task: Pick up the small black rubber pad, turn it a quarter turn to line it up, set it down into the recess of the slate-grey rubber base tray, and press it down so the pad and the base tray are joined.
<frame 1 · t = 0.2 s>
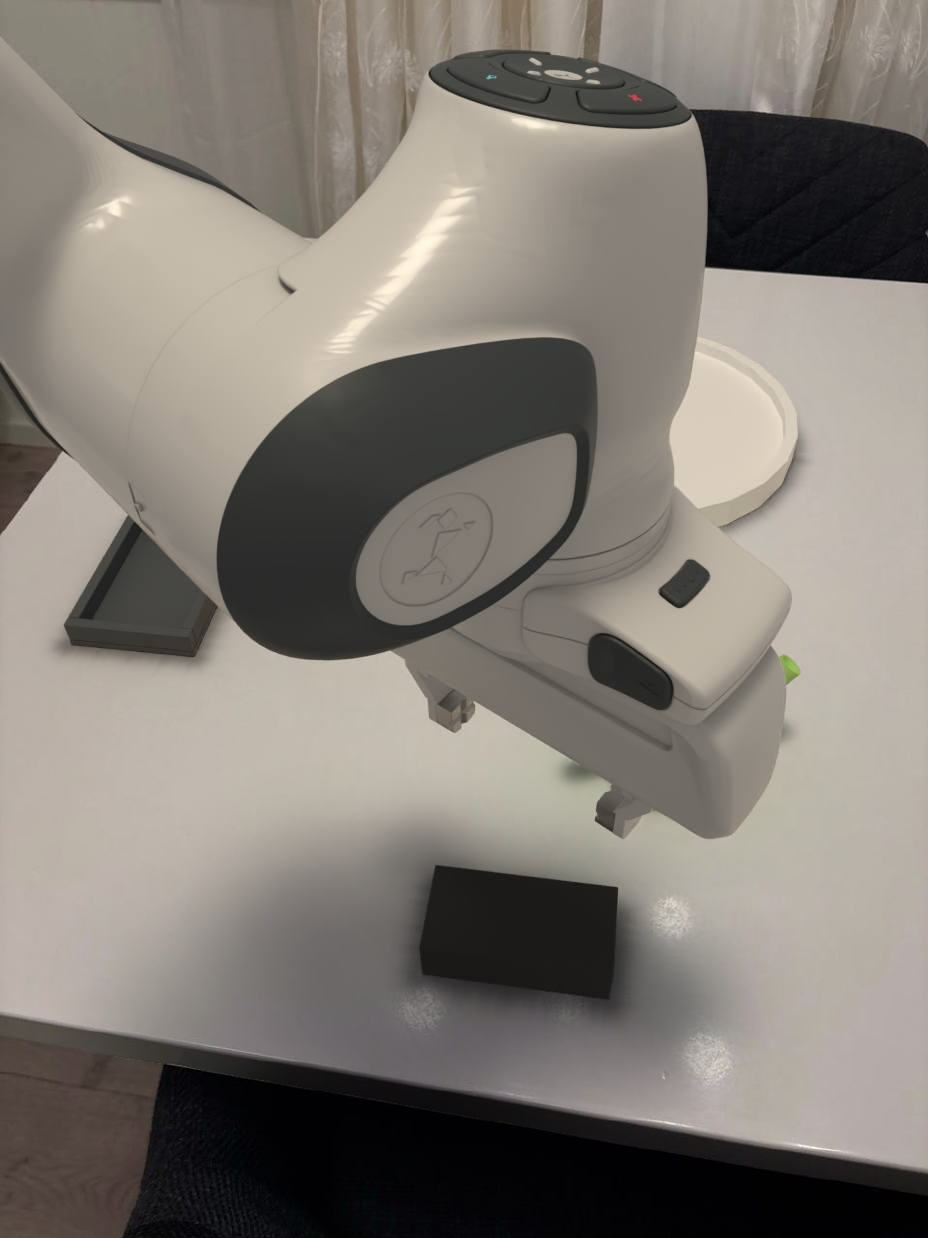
hand: (531, 767, 48), 14 cm above the table, tool pointing down, fingers open, 8 cm apart
bracket: (505, 568, 79), on the table
base tray: (165, 584, 78), on the table
plate: (626, 434, 90), on the table
black pad: (519, 944, 57), on the table
teapot: (664, 742, 67), on the table
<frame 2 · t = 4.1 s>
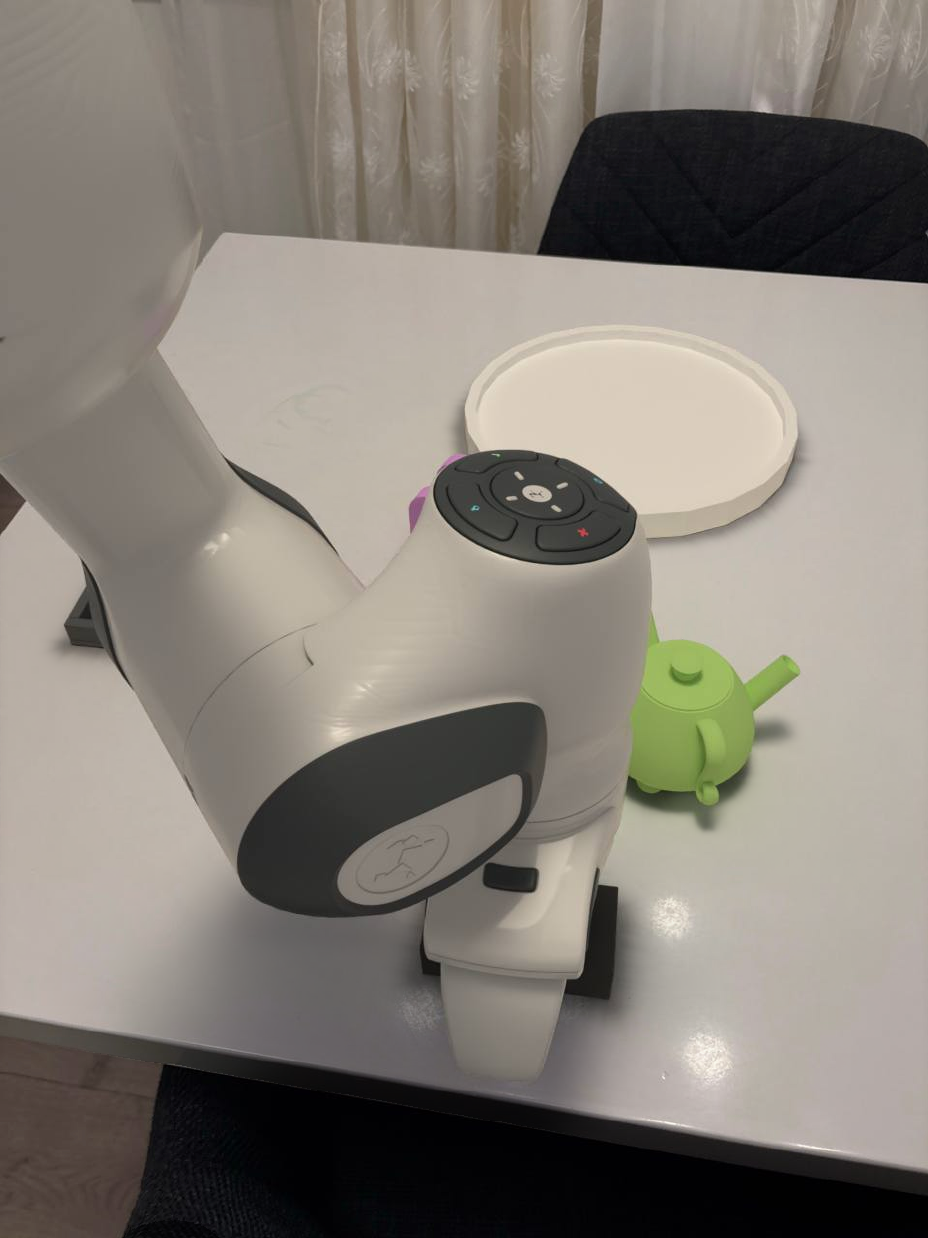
hand: (520, 930, 56), 2 cm above the table, tool pointing down, fingers closed on black pad, 5 cm apart
black pad: (519, 944, 57), on the table, touching gripper
everything else where it was.
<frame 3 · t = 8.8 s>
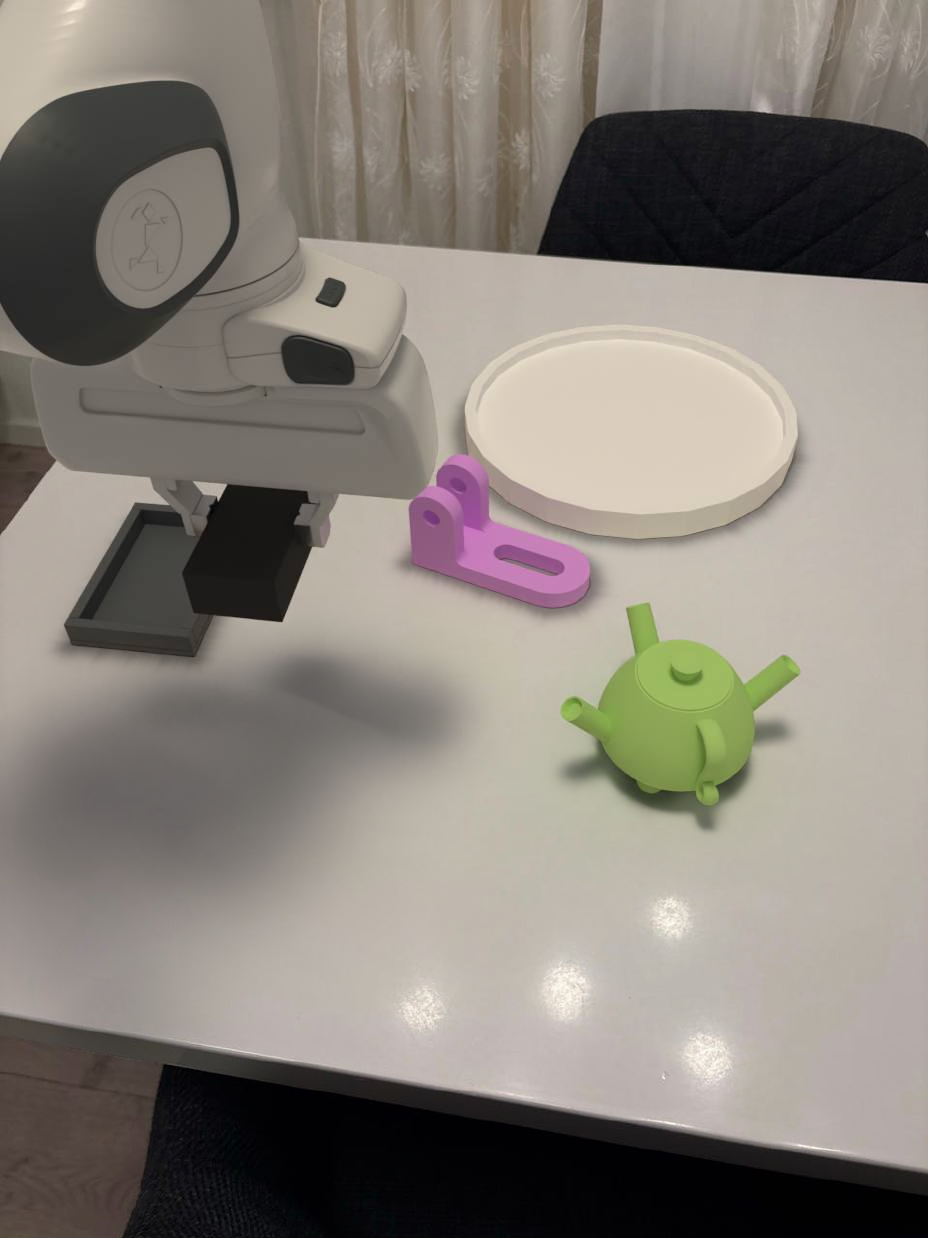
hand: (260, 534, 58), 15 cm above the table, tool pointing down, fingers closed on black pad, 5 cm apart
black pad: (265, 555, 59), point 14 cm above the table, touching gripper
everything else where it was.
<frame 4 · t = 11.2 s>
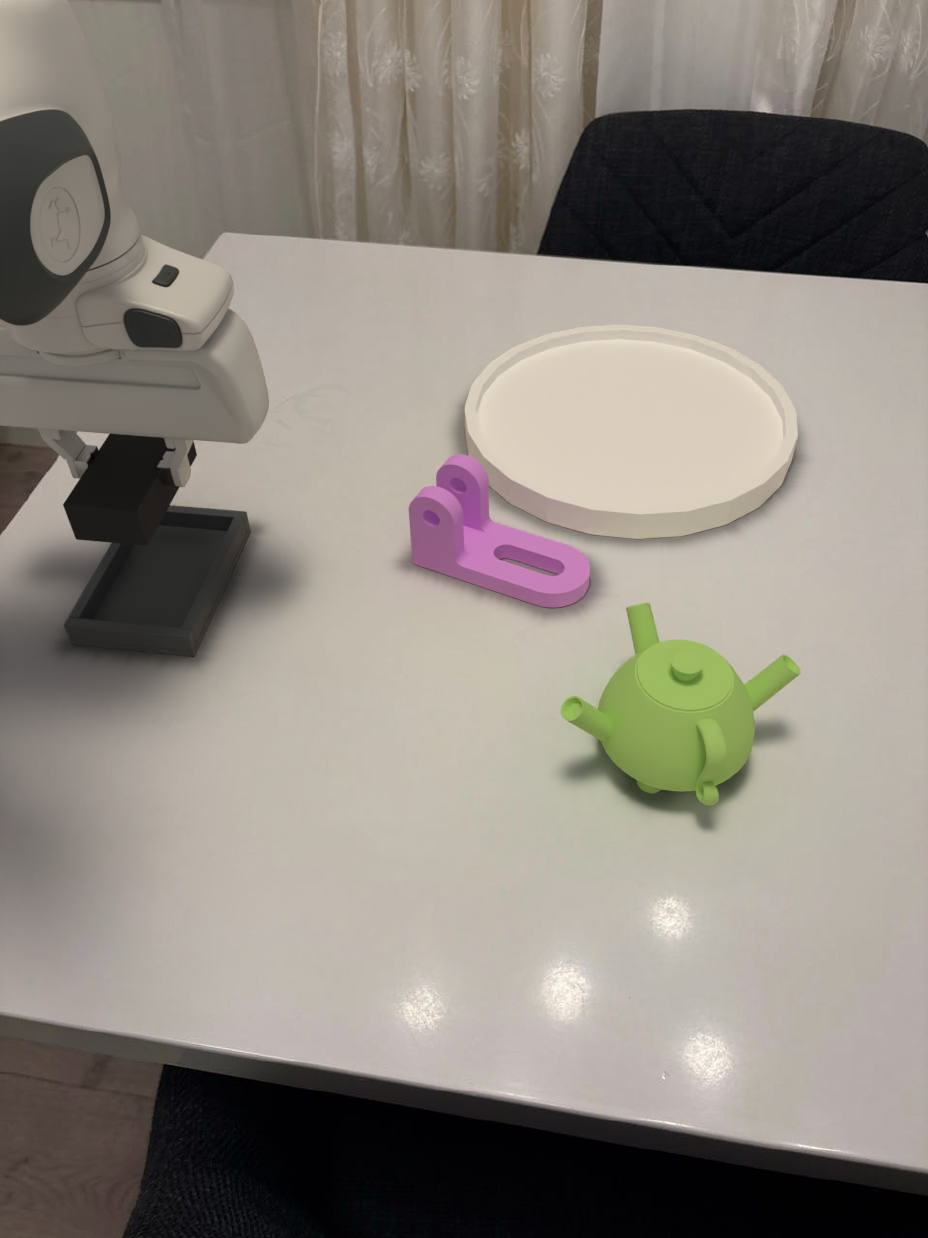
hand: (133, 477, 71), 10 cm above the table, tool pointing down, fingers closed on black pad, 5 cm apart
black pad: (139, 495, 72), point 8 cm above the table, touching gripper
everything else where it was.
when the fingers open (2 cm above the table, at t = 13.5 s): black pad stays where it is, resting on base tray.
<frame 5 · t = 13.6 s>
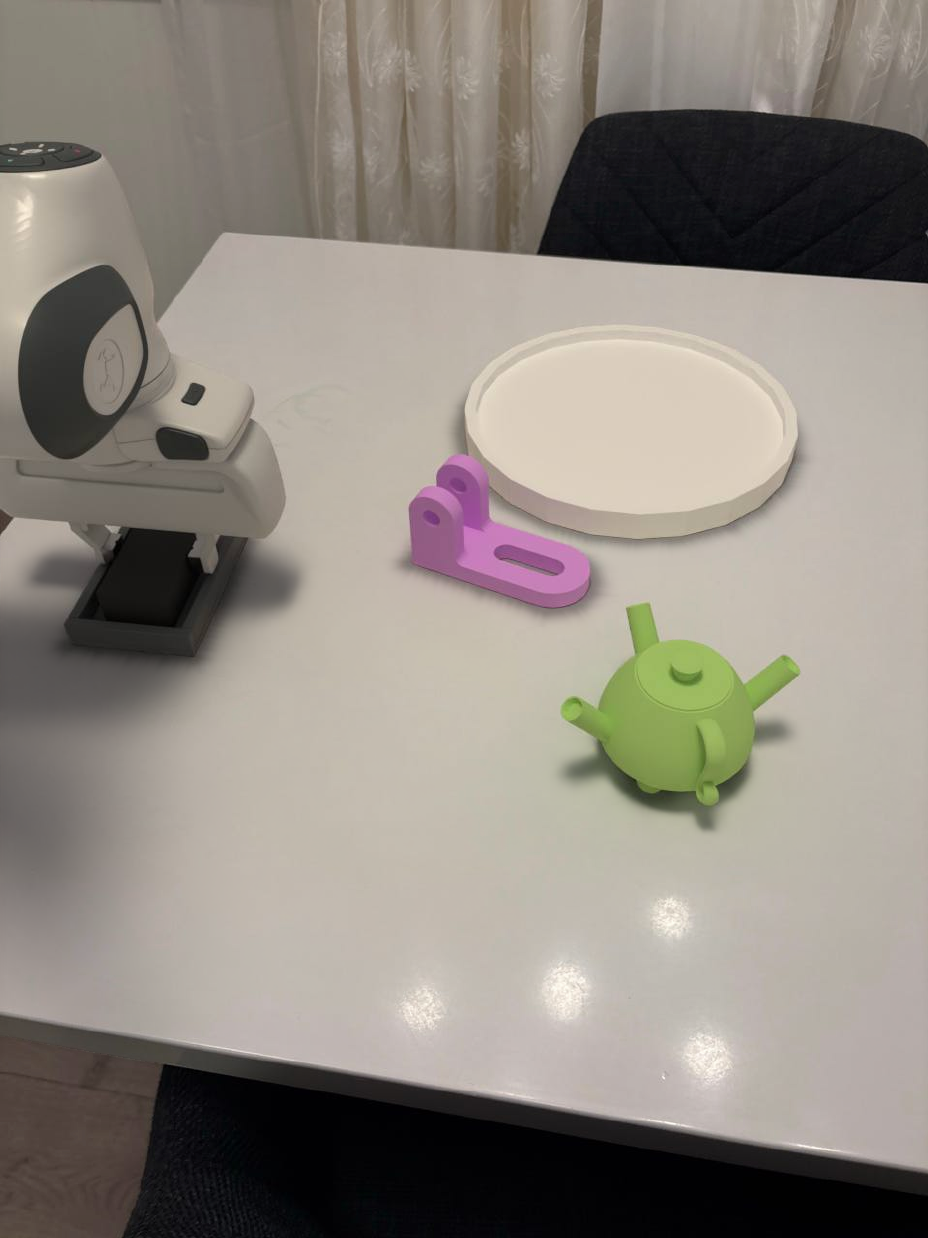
hand: (159, 563, 77), 2 cm above the table, tool pointing down, fingers open, 6 cm apart
black pad: (164, 578, 78), resting on base tray
everything else where it was.
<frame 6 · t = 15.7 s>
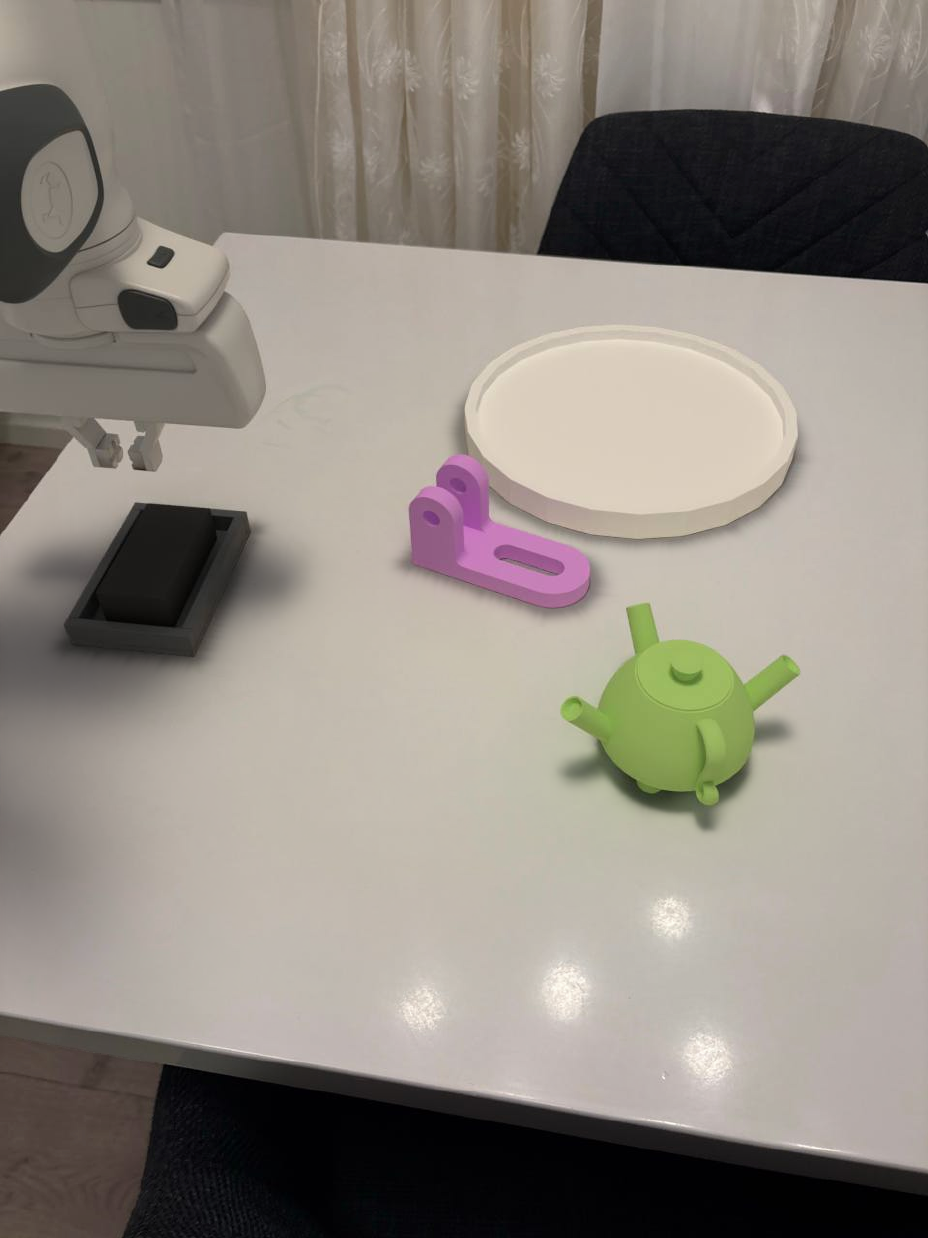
hand: (129, 464, 70), 11 cm above the table, tool pointing down, fingers closed
nothing on the table moved.
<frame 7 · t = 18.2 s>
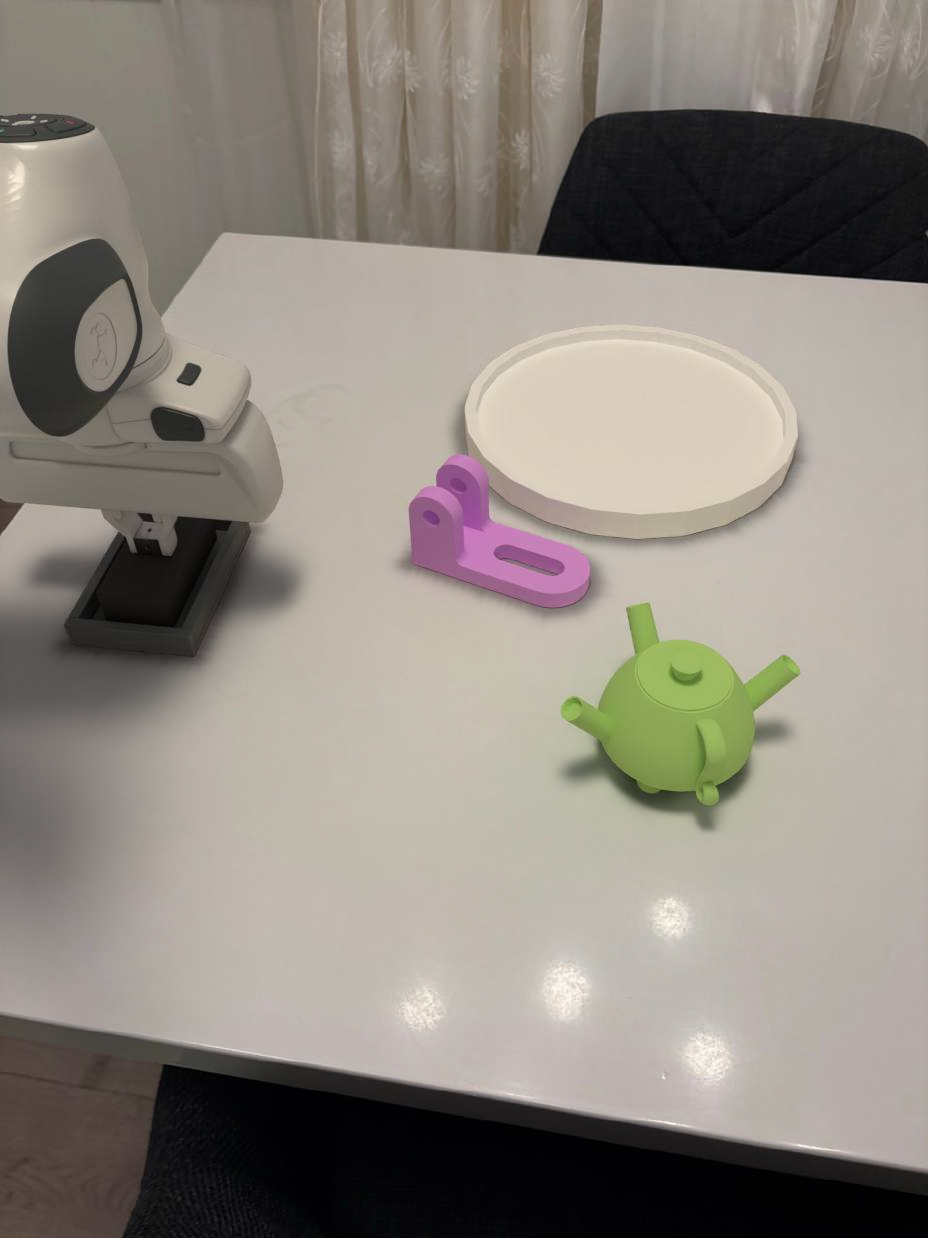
hand: (155, 549, 75), 4 cm above the table, tool pointing down, fingers closed, pressing on black pad
black pad: (164, 578, 78), resting on base tray, touching gripper
everything else where it was.
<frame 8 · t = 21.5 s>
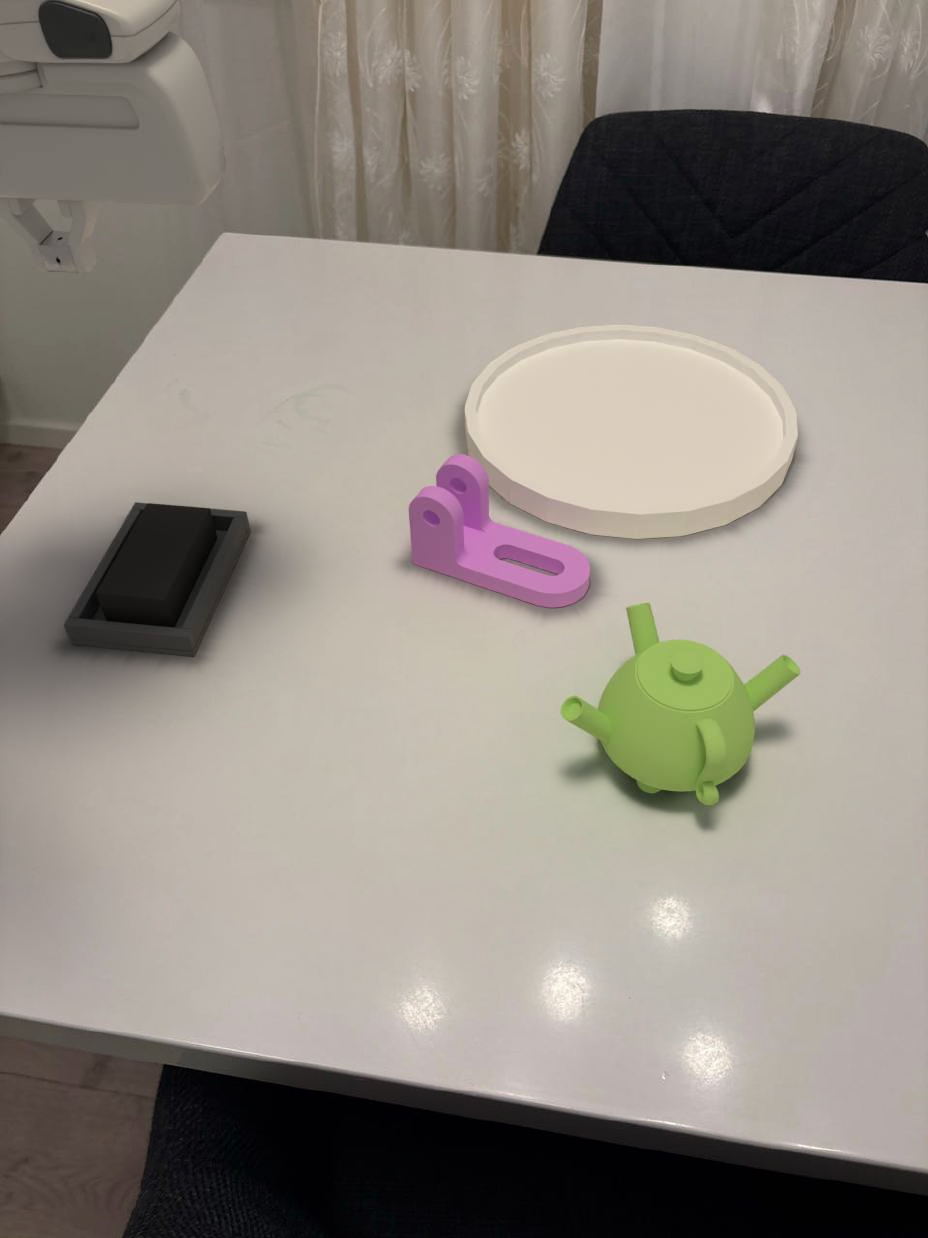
hand: (69, 268, 60), 25 cm above the table, tool pointing down, fingers closed
black pad: (164, 578, 78), resting on base tray
everything else where it was.
at the end: black pad 0.1 cm off-centre in the base tray, point 0.5 cm above the base tray's base; black pad tilted 0°; the gripper is holding nothing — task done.
